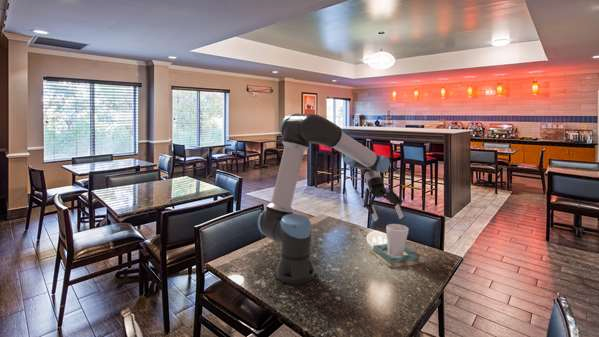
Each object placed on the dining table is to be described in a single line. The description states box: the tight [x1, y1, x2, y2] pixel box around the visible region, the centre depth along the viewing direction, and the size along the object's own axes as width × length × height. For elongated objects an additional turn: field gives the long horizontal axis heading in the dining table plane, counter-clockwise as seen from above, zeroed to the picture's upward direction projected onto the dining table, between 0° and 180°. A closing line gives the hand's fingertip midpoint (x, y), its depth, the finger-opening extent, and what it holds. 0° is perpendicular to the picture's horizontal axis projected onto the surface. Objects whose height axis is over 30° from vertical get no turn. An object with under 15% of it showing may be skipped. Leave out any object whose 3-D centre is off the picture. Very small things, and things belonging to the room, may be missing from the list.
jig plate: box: [368, 243, 425, 269], centre depth 147 cm, size 17×17×4 cm
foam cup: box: [385, 223, 410, 257], centre depth 146 cm, size 10×9×13 cm
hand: (389, 218), depth 152 cm, fingers open, 13 cm apart
